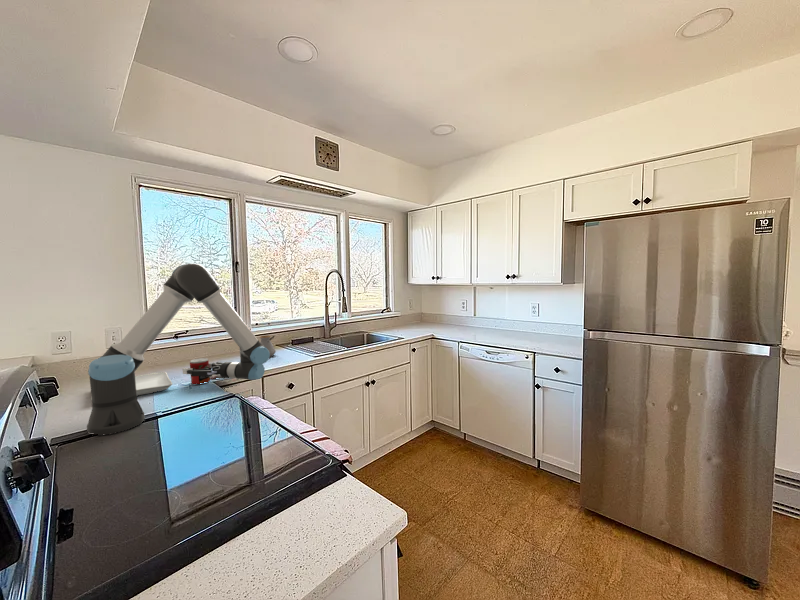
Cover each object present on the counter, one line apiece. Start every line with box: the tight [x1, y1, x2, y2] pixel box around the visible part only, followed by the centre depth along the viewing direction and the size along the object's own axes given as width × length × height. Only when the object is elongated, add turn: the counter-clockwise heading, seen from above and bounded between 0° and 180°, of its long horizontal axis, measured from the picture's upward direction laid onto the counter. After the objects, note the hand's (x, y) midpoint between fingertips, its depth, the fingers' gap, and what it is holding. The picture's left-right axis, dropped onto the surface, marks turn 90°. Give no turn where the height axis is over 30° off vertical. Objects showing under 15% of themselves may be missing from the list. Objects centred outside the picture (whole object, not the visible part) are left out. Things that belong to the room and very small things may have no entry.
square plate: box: [90, 371, 173, 402], centre depth 153 cm, size 27×27×4 cm
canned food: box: [189, 357, 211, 385], centre depth 162 cm, size 8×8×11 cm
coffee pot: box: [259, 335, 277, 358], centre depth 210 cm, size 21×12×15 cm, turn 41°
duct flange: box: [210, 374, 223, 380], centre depth 173 cm, size 12×12×1 cm
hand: (191, 368), depth 163 cm, fingers open, 9 cm apart
